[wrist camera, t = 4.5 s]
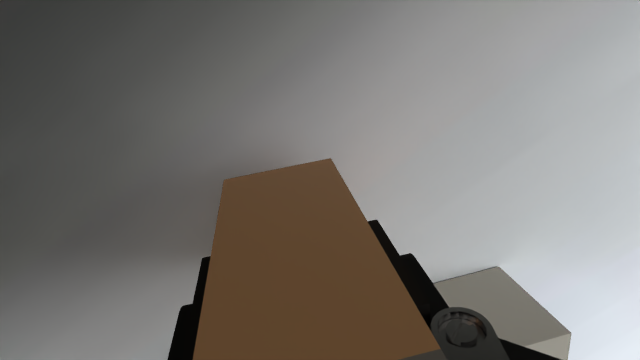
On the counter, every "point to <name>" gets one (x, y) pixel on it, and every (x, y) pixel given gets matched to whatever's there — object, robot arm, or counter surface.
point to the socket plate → (508, 310)
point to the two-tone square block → (303, 276)
